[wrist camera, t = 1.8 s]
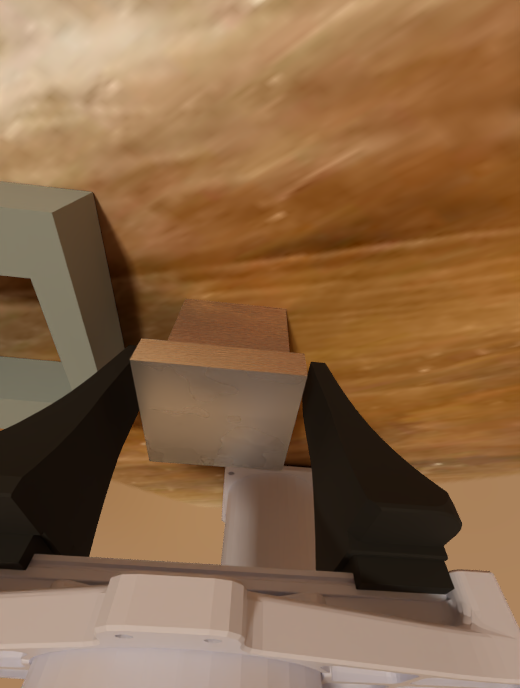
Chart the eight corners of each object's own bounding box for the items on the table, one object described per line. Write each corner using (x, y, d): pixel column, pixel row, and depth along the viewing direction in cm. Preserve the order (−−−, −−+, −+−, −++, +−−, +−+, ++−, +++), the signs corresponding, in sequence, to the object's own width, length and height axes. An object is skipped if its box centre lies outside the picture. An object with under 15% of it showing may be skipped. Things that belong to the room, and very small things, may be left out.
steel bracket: (277, 354, 18) (282, 471, 12) (187, 346, 17) (149, 460, 12) (292, 271, 14) (307, 376, 9) (183, 260, 14) (129, 360, 9)
